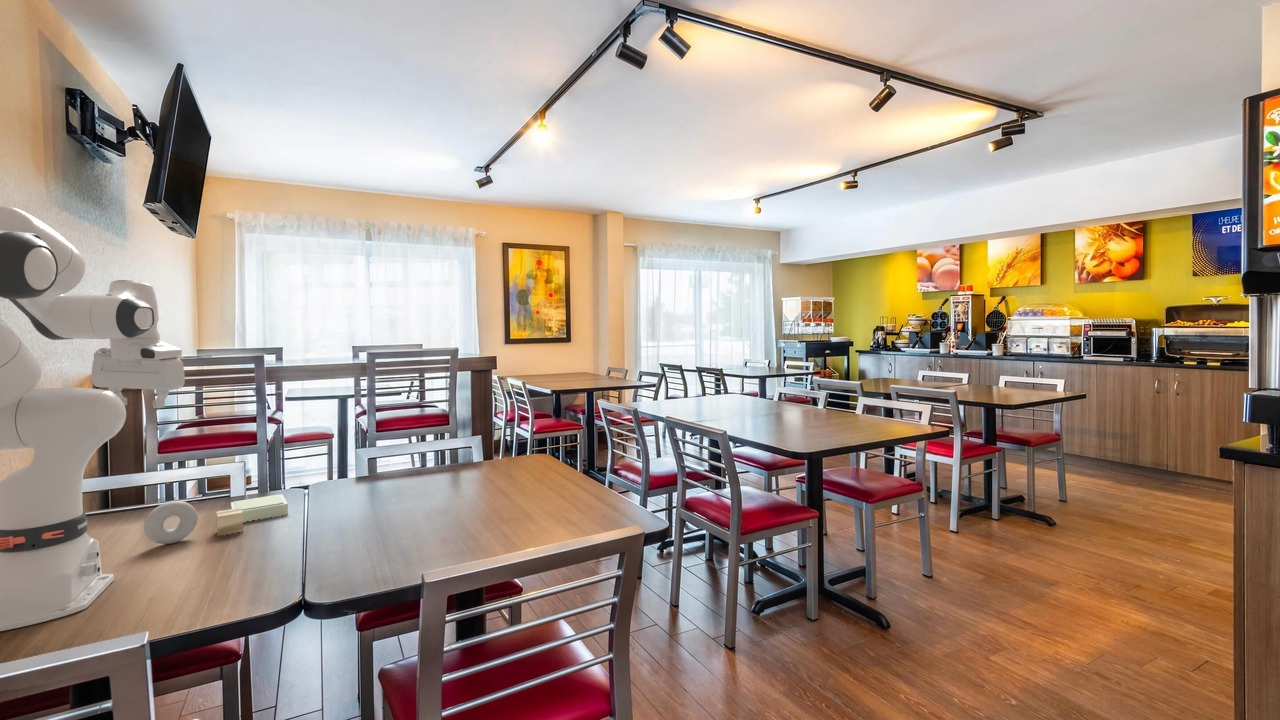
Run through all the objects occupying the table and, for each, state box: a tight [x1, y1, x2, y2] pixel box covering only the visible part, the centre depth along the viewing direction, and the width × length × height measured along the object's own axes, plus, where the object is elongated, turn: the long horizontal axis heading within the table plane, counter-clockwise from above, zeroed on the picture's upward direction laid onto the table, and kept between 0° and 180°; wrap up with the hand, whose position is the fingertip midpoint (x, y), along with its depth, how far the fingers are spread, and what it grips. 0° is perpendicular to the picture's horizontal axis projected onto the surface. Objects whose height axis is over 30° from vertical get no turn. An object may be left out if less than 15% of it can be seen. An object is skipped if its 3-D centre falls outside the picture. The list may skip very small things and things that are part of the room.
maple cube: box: [215, 508, 244, 537], centre depth 139 cm, size 5×5×5 cm
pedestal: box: [230, 493, 289, 523], centre depth 153 cm, size 12×12×3 cm
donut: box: [143, 500, 199, 545], centre depth 132 cm, size 10×4×10 cm, turn 147°
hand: (140, 406), depth 134 cm, fingers open, 8 cm apart
